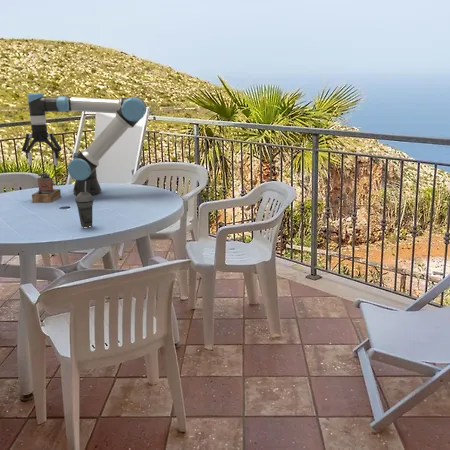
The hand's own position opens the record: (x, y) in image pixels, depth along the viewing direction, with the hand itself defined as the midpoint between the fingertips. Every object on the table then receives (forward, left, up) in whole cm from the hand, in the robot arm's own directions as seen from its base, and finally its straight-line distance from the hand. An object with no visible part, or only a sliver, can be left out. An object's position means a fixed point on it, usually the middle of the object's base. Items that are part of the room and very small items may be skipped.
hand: (43, 165), depth 267 cm
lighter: (0, 0, -15) cm, 15 cm away
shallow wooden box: (0, 0, -19) cm, 19 cm away
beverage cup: (-38, +53, -19) cm, 68 cm away
